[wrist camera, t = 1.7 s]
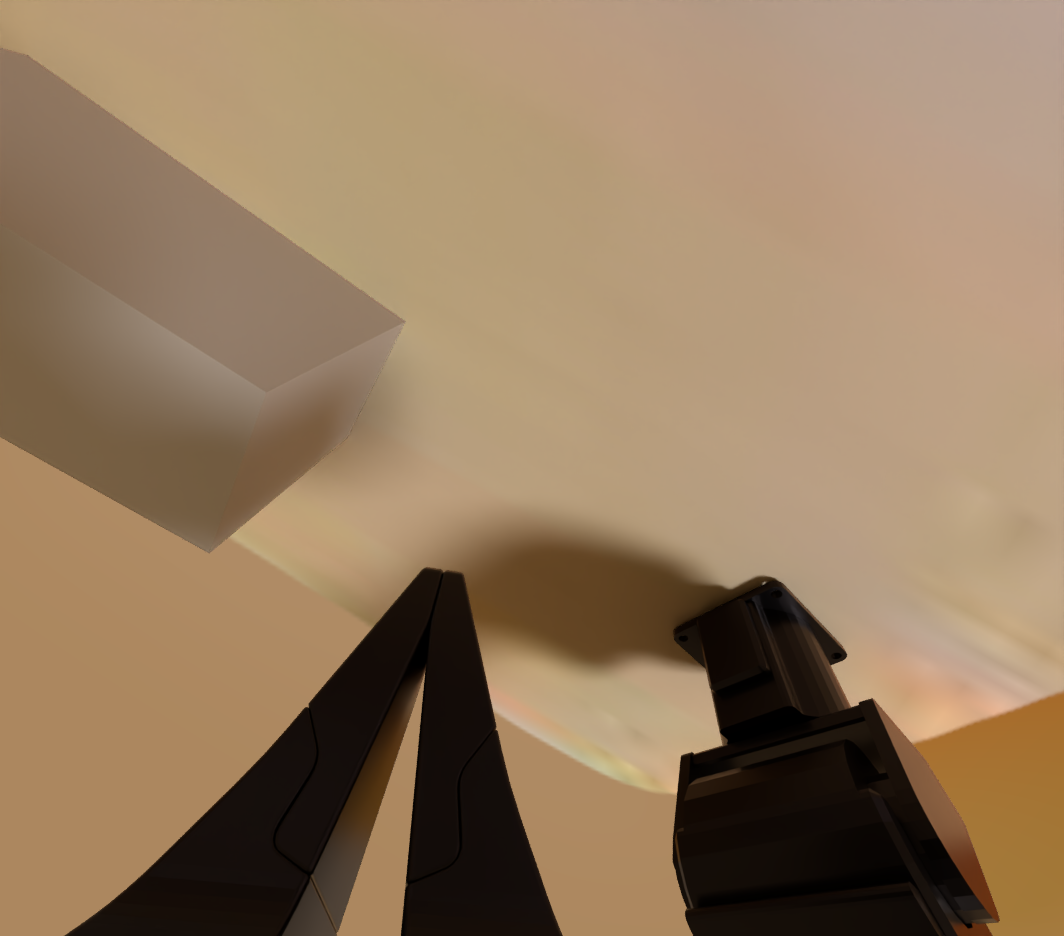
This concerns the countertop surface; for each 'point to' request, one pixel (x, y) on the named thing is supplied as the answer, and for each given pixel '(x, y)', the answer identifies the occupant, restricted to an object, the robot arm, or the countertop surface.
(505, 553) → the countertop surface
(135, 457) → the slab
